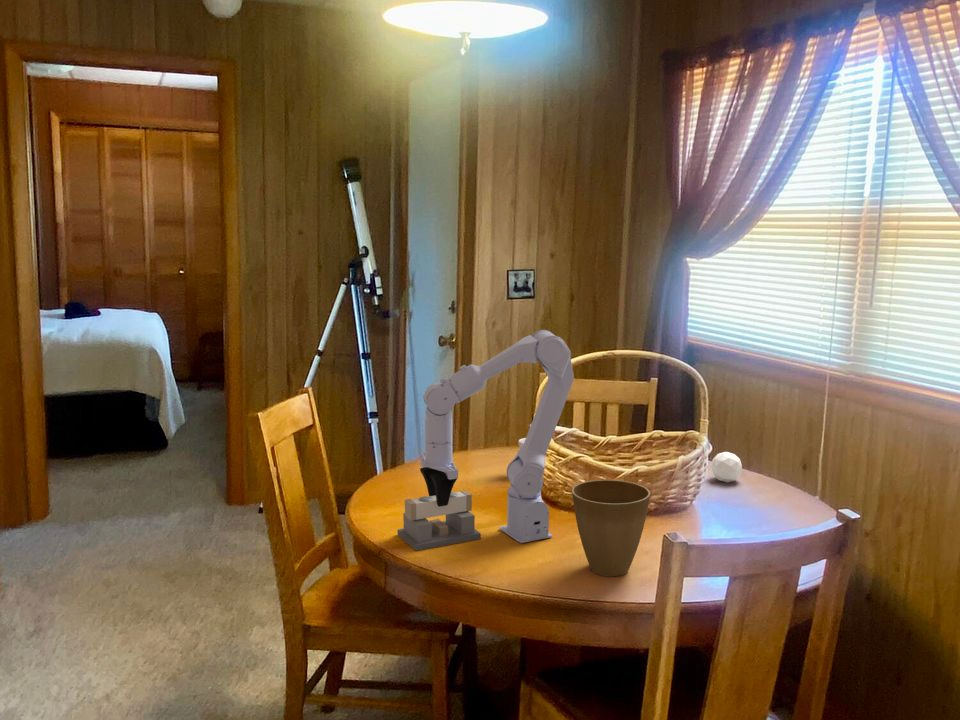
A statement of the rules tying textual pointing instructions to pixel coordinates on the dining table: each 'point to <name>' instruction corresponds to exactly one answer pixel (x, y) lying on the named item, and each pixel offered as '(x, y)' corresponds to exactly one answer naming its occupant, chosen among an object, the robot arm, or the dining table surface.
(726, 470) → the geometric ball
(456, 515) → the grey fixture base
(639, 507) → the plant pot
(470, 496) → the frame bar
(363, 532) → the dining table surface
